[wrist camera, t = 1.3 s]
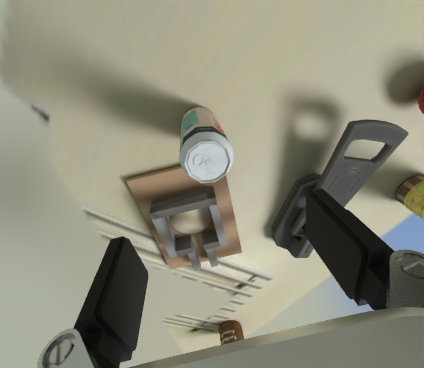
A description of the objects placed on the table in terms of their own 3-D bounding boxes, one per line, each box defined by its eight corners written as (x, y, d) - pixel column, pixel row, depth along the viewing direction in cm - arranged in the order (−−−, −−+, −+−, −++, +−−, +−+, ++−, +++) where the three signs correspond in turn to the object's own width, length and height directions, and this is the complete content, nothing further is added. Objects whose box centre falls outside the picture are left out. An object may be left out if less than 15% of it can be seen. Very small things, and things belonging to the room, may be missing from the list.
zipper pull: (419, 128, 25) (326, 270, 37) (375, 115, 30) (307, 242, 42) (352, 116, 23) (279, 269, 35) (319, 105, 29) (265, 240, 41)
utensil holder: (245, 324, 56) (259, 384, 46) (227, 334, 58) (237, 394, 47) (231, 317, 53) (242, 378, 43) (213, 328, 55) (219, 389, 45)
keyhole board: (127, 178, 31) (120, 193, 27) (221, 155, 31) (225, 167, 27) (170, 265, 41) (169, 283, 38) (240, 248, 41) (245, 265, 38)
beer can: (211, 146, 30) (225, 191, 20) (177, 137, 29) (173, 181, 18) (222, 112, 28) (244, 143, 17) (186, 101, 26) (186, 128, 16)
